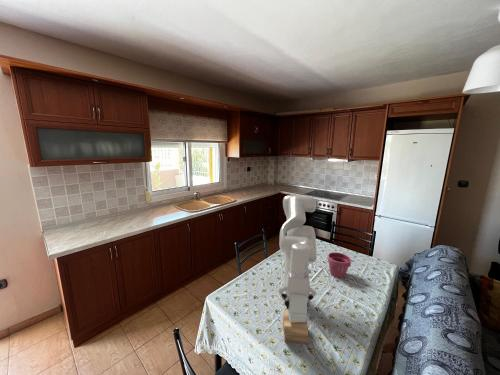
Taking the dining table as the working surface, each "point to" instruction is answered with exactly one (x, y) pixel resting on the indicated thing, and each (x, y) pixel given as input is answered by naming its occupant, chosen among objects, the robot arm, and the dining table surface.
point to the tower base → (295, 338)
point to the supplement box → (297, 308)
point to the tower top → (295, 327)
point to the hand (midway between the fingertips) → (296, 307)
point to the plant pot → (338, 264)
